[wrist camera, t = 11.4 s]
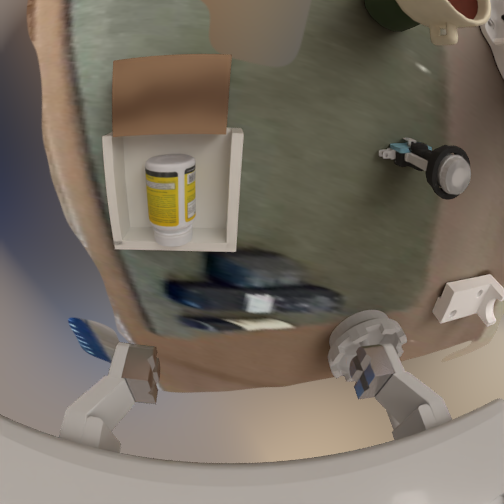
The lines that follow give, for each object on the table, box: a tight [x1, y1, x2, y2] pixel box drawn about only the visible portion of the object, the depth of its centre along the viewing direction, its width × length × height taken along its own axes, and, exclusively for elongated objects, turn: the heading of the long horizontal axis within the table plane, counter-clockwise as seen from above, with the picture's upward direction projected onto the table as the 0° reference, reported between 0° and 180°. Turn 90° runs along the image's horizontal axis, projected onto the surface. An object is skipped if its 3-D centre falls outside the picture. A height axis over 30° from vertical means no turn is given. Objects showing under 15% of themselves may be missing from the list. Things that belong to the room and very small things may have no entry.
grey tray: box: [102, 127, 244, 252], centre depth 28 cm, size 12×13×4 cm
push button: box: [379, 138, 471, 199], centre depth 25 cm, size 7×5×10 cm
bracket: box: [432, 274, 504, 326], centre depth 40 cm, size 13×7×8 cm, turn 92°
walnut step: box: [112, 54, 232, 137], centre depth 23 cm, size 7×10×5 cm
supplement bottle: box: [145, 154, 196, 247], centre depth 27 cm, size 5×5×8 cm
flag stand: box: [328, 310, 407, 429], centre depth 32 cm, size 13×13×30 cm
